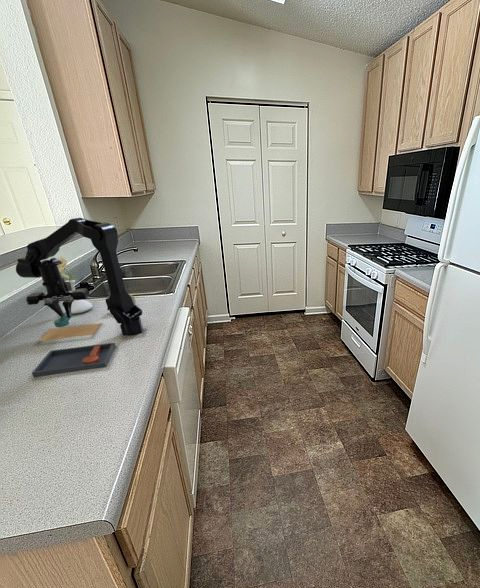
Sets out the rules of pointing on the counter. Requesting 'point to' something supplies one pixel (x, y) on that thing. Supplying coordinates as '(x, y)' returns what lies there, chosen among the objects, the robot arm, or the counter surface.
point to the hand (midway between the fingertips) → (66, 317)
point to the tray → (72, 360)
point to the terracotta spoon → (93, 356)
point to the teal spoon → (62, 320)
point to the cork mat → (70, 332)
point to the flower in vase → (76, 305)
